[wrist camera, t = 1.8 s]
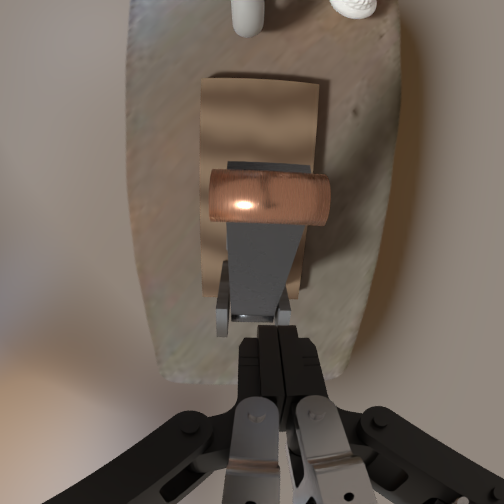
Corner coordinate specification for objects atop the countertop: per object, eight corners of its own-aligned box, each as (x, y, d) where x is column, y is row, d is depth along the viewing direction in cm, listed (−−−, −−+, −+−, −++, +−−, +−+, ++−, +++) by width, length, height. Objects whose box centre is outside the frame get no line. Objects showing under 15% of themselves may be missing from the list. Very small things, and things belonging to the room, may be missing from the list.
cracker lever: (217, 125, 18) (207, 199, 15) (318, 130, 18) (333, 204, 15) (227, 282, 39) (224, 328, 36) (277, 283, 39) (278, 329, 36)
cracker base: (203, 79, 33) (182, 64, 22) (315, 85, 34) (347, 74, 22) (204, 289, 46) (192, 347, 35) (295, 291, 47) (309, 350, 35)
